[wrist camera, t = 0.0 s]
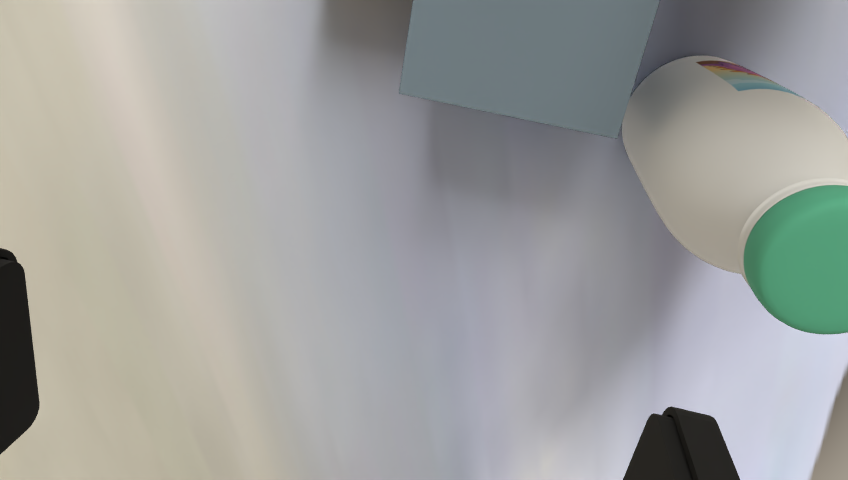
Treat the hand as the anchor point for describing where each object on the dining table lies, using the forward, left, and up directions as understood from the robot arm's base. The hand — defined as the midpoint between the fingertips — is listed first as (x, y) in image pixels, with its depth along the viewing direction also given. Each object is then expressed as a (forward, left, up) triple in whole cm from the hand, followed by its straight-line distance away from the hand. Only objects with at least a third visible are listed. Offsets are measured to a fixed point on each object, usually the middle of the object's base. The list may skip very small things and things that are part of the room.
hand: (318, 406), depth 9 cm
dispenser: (-5, +2, -31) cm, 32 cm away
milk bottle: (0, +13, -31) cm, 34 cm away
